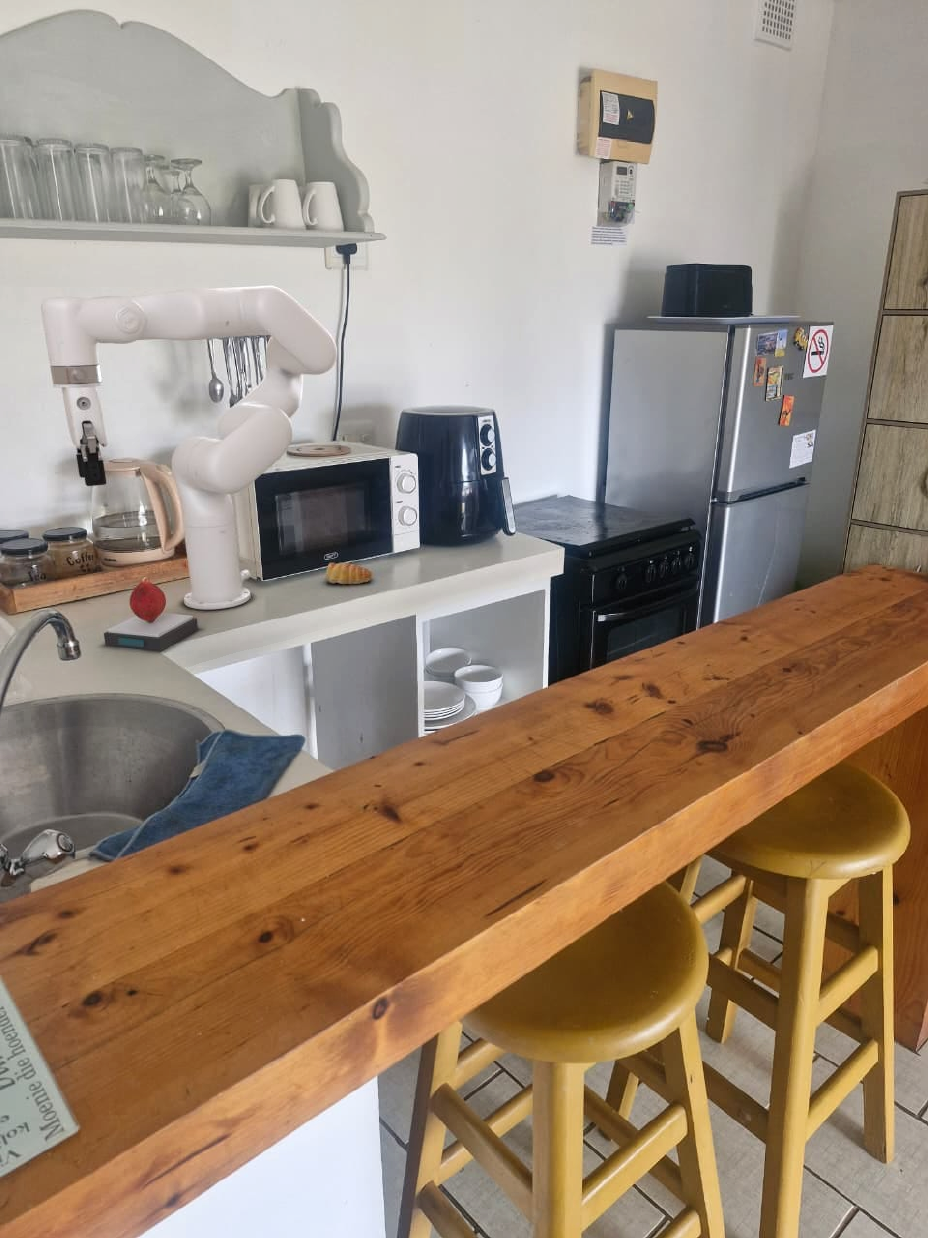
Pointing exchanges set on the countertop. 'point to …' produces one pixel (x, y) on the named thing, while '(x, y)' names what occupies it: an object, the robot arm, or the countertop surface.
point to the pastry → (347, 573)
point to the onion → (147, 601)
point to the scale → (151, 632)
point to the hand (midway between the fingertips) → (92, 480)
